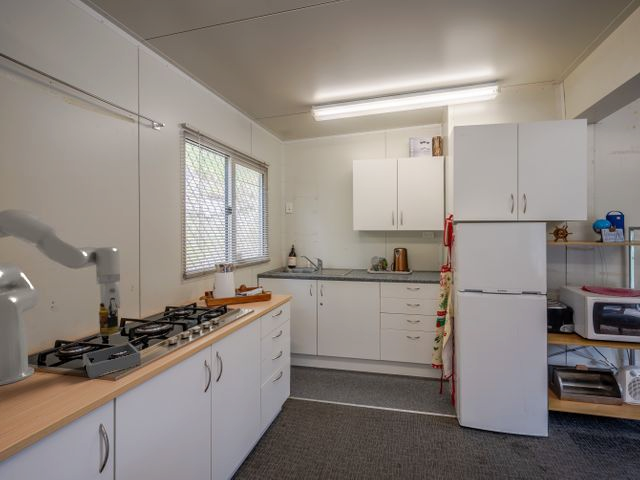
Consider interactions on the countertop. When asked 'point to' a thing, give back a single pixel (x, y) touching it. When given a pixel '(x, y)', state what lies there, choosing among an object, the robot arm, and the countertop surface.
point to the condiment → (103, 323)
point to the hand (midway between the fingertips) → (110, 324)
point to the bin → (104, 365)
